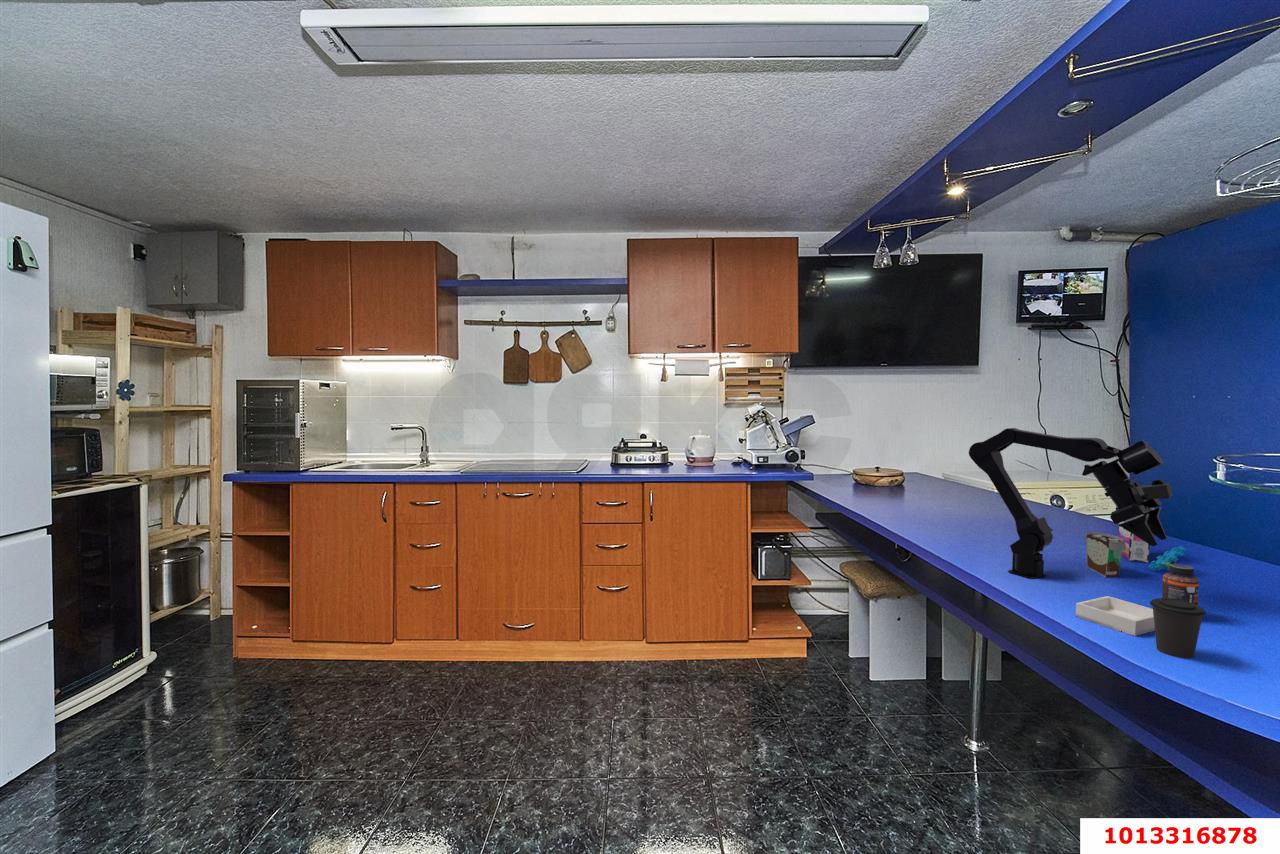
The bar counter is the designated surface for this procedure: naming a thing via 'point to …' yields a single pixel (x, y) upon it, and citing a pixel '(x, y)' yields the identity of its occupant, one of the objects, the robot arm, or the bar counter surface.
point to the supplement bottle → (1181, 584)
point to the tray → (1117, 615)
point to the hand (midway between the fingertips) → (1159, 542)
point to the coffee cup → (1176, 626)
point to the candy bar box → (1134, 546)
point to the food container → (1104, 553)
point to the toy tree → (1167, 558)
